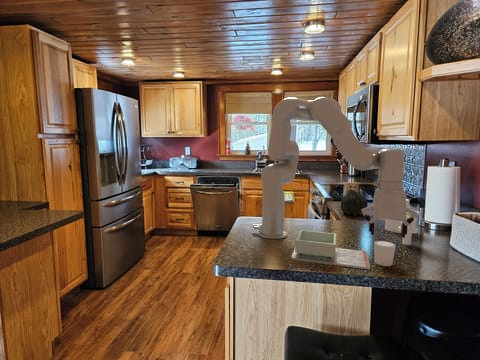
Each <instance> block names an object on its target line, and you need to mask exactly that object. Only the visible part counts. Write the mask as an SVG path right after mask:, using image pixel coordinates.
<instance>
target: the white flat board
mask: <svg viewBox="0 0 480 360" xmlns="http://www.w3.org/2000/svg"><path fill="white" fill-rule="evenodd" d="M293 249H294V250H293V252H292V254H291V257H290V260H291V261H298V262H299V261H300V262H301V261H302V262H306V263H307V262H308V263H315V264H323V265H331V266H337V267H338V266H339V267H346V268H347V267H348V268H354V269H361V270H369V271H370V270H371V265H370V261H369V257H368V253H367V251H366V250H358V249H350V248H341V247H336V250H335V257H331V259H328V256H319V255H311V254H303V253H302V255H299V253H295V248H293Z"/></svg>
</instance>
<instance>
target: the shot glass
mask: <svg viewBox="0 0 480 360" xmlns="http://www.w3.org/2000/svg"><path fill="white" fill-rule="evenodd" d="M373 246H374V247H373V248H374V252H373V253H374V263H375V264H377V265H379V266H382V267H391V266H393V262H394V256H395V252H396V247H397V246H396V244H395V243H393V242H391V241H386V240H376V241H374V242H373Z"/></svg>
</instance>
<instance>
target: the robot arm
mask: <svg viewBox="0 0 480 360" xmlns="http://www.w3.org/2000/svg"><path fill="white" fill-rule="evenodd" d="M292 120H296V121H303V122H318V124H319V125H320V126H321V127H322V128H323V130H325V131H326V132H327V134H328V135H329V136H330V137H331V138H332V140H333V143H334V146H335V147H336V149H337V150H338V152H339V153H340V155H342V157H343V159H344V160H346V162H347V163H349V165H350V166H351V167H353V168H354V169H355V170H357V171H369V170H377V169H378V173H377V174H378V177H377V181H373V183H372V184H373V186H375V187H377V188H375V190H374V193H373V200H372V204H371V205H369V206H367V207H366V208H364V209H362V210H361V211H362V213H363V214H362V215H363V217H364V218H365V220H366V221H367V222H368V223H369V224H368V233H369V232H370V234H371V236H373V235H375V221H376V220H382V221H383V220H385V221H386V220H399V221H402V222H403V224H402V225H401V233H400V235H401V237H402V238H403V237H405V234H406V235H407V226H408V225H409V224H410V223H411V222H413V221H414V219H415V218H417V213H416V212H415V211H416V210H415V211H413V210H414V209H412V208H411V209H412V210H411V209H409V208H407V207H406V199H407V193H406V190H404V189H403V186H404V185H403V183H404V169H405V151H404V150H403V149H401V148H400V149H399V148H383V149H381V148H373V147H366V146H365V145H364V144H363V143H362V142H361V141H360V140H359V139H358V138H357V137H356V136H355V133H354V132H353V123H352V121H351V120H350V119H349V118H348V117H347V116H346V115H345V114H344V113H343V111H342V107H341V104H340V103H339V102H338V100H336V99H333V98H330V97H326V96H319V97H317V98H315V99H314V100H313V99H312V100H309V99H308V100H307V99H303V98H298V97H286V98H283V99H281V100H280V101H278V102H277V104H275V107H274V108H273V111H272V116H271V129H270V133H269V140H268V147H267V156H268V157H269V159H271V161H275V163H270V164H267V165H266V166H264V167H263V168H262V169H261V172H260V173H261V174H260V180H261V184H262V208H261V209H262V213H261V216H262V217H261V223H260V224H258V223H253V224H252V228H253V230H258V232H257V235H258V236H259V237H261V238H264V239H267V240H269V239H270V240H281V239H284V238H286V237H288V232H287V231H286V230H284V229H285V227H284V224H285V223H284V222H285V221H284V220H285V203H286V202H285V198H286V197H285V191H284V186H283V185H287V184H290V183H292V182H293V181H294V179H295V177H296V174H297V168H298V164H299V163H298V162H299V157H300V148H299V145H298V143H297V142H296V141H295V140H294V139H292V138H291V135H292V124H291V121H292ZM369 211H371V213H372V215H371V216H369V215H368V212H369ZM406 212H408V213H410V214H411V216H410V217H409V218H408V219H407V220H405V219H406Z"/></svg>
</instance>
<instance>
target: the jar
mask: <svg viewBox="0 0 480 360" xmlns="http://www.w3.org/2000/svg"><path fill="white" fill-rule="evenodd" d="M406 207H407V208H409V209H411V210H413V209H412V207H411V206H410V199H408V198H406ZM399 226H401V221H399V220H385V226H384V229H385V231H389V232H390V233H391V232H392V233H397V234H401V231H399V230H398V227H399Z"/></svg>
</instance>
